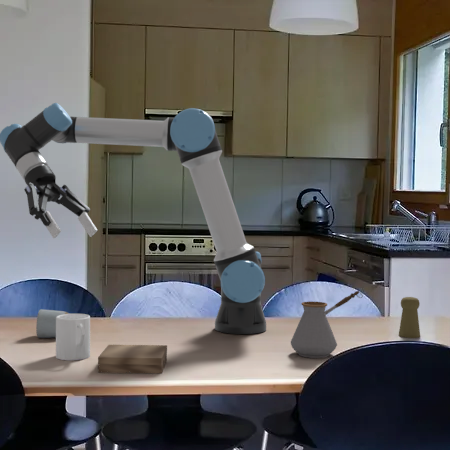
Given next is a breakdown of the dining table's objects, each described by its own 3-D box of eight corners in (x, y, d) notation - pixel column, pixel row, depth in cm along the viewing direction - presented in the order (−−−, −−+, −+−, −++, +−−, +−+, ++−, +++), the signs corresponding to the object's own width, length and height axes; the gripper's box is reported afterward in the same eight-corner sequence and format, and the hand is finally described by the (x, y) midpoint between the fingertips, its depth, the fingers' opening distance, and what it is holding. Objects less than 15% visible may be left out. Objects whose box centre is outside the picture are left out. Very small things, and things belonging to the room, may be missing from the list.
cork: (422, 334, 199) (422, 296, 199) (418, 338, 194) (419, 299, 194) (400, 332, 202) (401, 295, 202) (396, 336, 197) (397, 297, 196)
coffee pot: (310, 362, 166) (311, 299, 165) (281, 352, 175) (281, 293, 175) (375, 351, 177) (376, 293, 176) (344, 343, 187) (345, 288, 186)
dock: (167, 359, 166) (167, 345, 166) (161, 373, 153) (161, 358, 153) (108, 359, 166) (108, 344, 166) (98, 373, 153) (98, 357, 153)
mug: (66, 365, 160) (66, 323, 159) (51, 355, 170) (51, 315, 170) (100, 361, 164) (100, 320, 163) (83, 351, 174) (83, 312, 174)
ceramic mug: (66, 339, 188) (66, 311, 188) (35, 340, 187) (35, 311, 187) (71, 332, 198) (71, 306, 198) (42, 333, 198) (42, 306, 197)
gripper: (61, 184, 198) (99, 241, 191) (-8, 180, 176) (32, 244, 169) (76, 166, 195) (115, 224, 188) (7, 160, 173) (49, 224, 167)
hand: (76, 234), depth 179 cm, fingers open, 13 cm apart
